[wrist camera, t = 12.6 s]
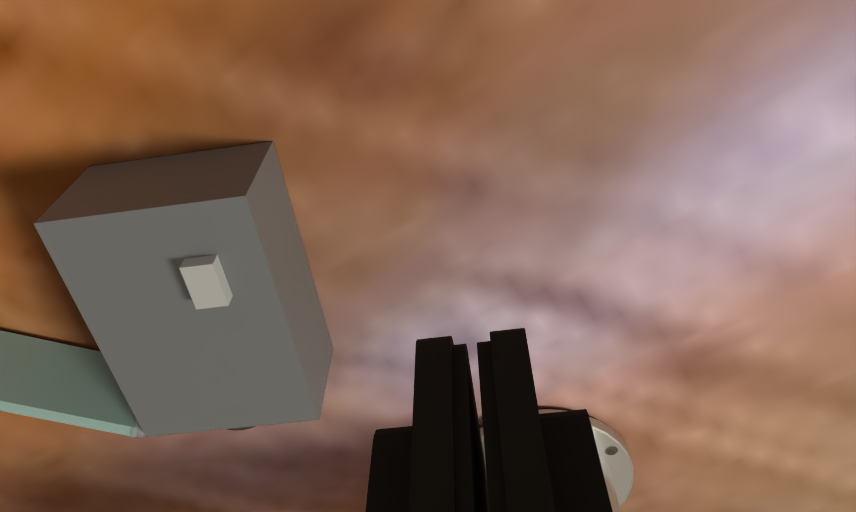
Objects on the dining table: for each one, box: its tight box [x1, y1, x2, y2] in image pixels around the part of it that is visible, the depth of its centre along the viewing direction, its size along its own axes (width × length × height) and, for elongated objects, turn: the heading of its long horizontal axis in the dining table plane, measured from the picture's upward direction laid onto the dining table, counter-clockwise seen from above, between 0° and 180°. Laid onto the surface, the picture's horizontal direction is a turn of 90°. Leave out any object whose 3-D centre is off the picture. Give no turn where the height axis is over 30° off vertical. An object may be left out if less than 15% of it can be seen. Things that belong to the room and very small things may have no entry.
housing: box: [33, 141, 333, 437], centre depth 37 cm, size 15×10×7 cm, turn 9°
